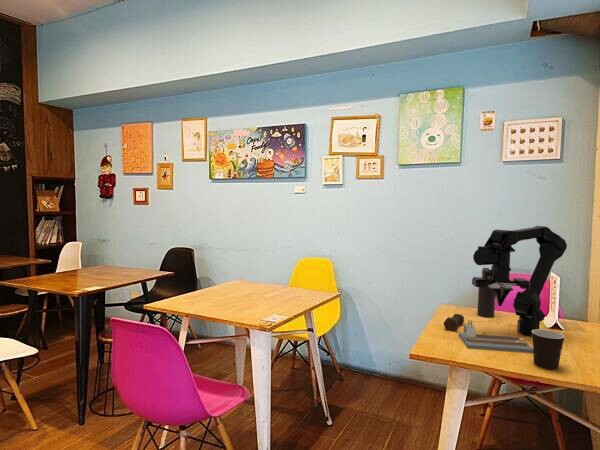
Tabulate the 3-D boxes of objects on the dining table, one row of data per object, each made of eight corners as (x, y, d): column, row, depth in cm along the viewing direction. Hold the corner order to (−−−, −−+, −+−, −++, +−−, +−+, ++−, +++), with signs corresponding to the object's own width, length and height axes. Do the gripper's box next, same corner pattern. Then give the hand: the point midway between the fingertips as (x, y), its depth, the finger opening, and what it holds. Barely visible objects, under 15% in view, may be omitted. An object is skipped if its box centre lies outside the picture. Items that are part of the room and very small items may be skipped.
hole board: (519, 340, 149) (520, 334, 148) (534, 353, 136) (535, 346, 136) (458, 335, 152) (459, 329, 152) (467, 348, 139) (468, 341, 139)
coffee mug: (553, 373, 120) (555, 340, 119) (524, 363, 127) (526, 331, 126) (572, 365, 126) (574, 334, 125) (543, 356, 133) (545, 326, 132)
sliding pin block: (472, 336, 147) (473, 319, 146) (475, 340, 143) (476, 322, 142) (463, 336, 147) (464, 318, 147) (466, 339, 143) (467, 322, 143)
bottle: (497, 317, 177) (500, 272, 176) (483, 317, 176) (486, 272, 175) (487, 313, 184) (489, 269, 183) (474, 313, 183) (476, 269, 181)
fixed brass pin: (523, 341, 143) (523, 337, 143) (525, 343, 141) (525, 339, 141) (517, 341, 143) (518, 337, 143) (519, 343, 142) (520, 338, 141)
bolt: (461, 327, 169) (452, 335, 157) (451, 319, 171) (440, 326, 159) (469, 316, 167) (460, 323, 155) (459, 308, 169) (449, 314, 157)
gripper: (519, 261, 156) (517, 301, 157) (468, 260, 159) (467, 299, 160) (531, 266, 145) (529, 309, 146) (477, 264, 148) (475, 307, 149)
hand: (499, 305), depth 151 cm, fingers closed
